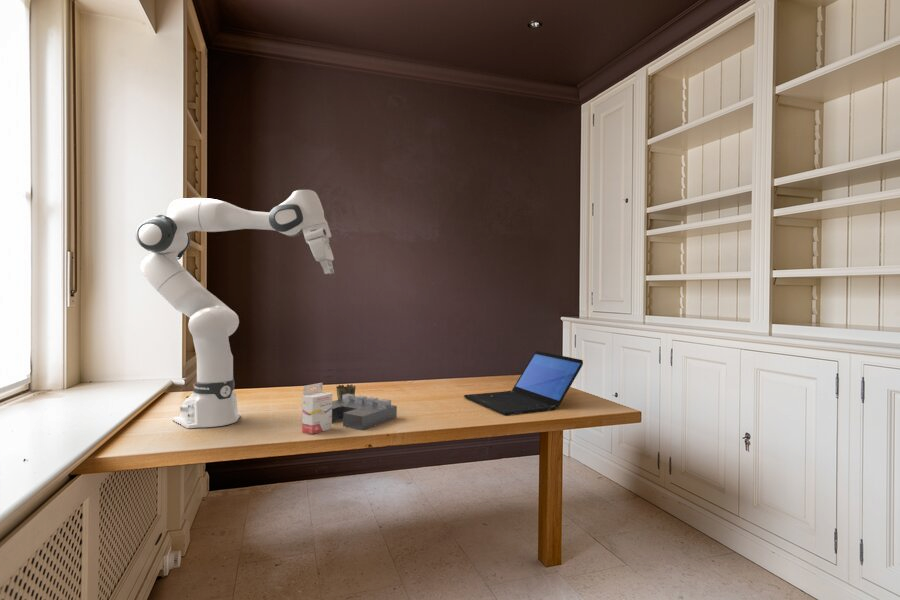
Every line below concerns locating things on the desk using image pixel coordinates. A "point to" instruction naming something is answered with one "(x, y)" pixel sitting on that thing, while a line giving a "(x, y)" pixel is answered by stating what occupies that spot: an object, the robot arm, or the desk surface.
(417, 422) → the desk surface
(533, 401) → the laptop
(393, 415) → the castellated collar
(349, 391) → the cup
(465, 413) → the desk surface
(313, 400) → the ink cartridge box
